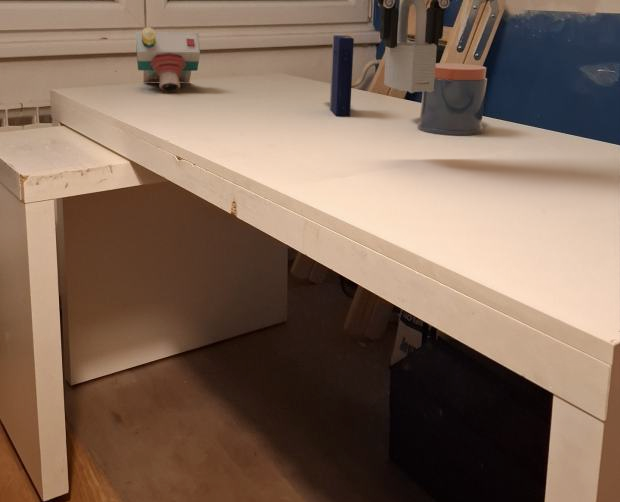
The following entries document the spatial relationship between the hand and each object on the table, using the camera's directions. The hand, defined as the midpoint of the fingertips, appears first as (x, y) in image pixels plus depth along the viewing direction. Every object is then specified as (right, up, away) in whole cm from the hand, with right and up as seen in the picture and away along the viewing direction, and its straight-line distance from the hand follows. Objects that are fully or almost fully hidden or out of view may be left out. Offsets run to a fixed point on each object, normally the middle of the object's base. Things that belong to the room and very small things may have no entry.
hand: (410, 44), depth 85 cm
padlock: (0, -4, +2) cm, 5 cm away
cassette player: (-6, +5, +41) cm, 41 cm away
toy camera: (-39, +16, +61) cm, 74 cm away
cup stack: (+10, -1, +30) cm, 31 cm away
